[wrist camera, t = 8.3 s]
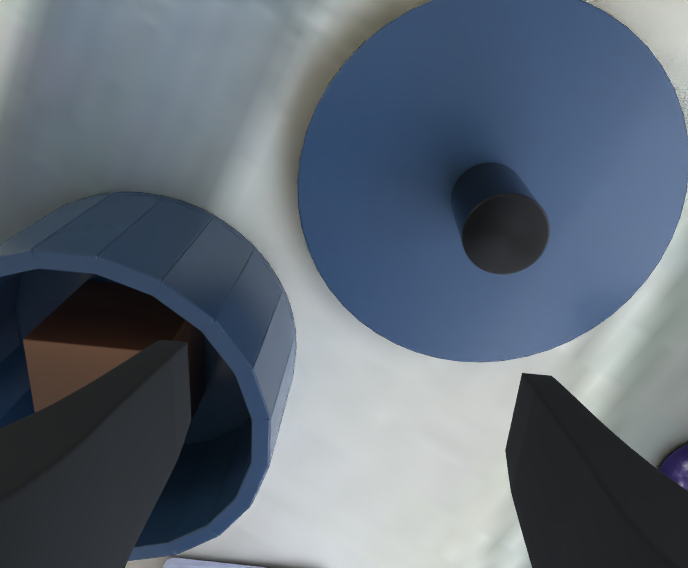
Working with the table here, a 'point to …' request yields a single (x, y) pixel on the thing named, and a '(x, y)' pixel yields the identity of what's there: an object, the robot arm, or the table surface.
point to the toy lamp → (677, 466)
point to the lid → (493, 176)
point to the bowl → (191, 304)
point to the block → (104, 340)
